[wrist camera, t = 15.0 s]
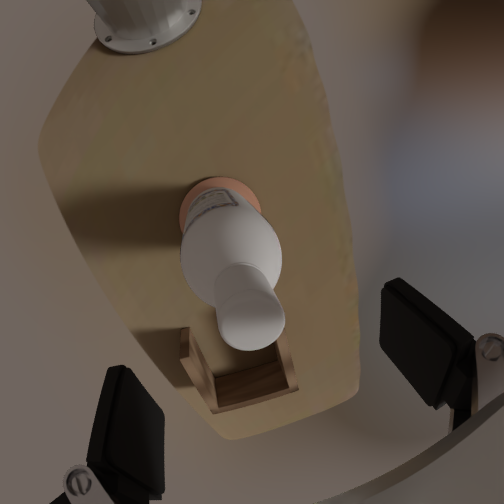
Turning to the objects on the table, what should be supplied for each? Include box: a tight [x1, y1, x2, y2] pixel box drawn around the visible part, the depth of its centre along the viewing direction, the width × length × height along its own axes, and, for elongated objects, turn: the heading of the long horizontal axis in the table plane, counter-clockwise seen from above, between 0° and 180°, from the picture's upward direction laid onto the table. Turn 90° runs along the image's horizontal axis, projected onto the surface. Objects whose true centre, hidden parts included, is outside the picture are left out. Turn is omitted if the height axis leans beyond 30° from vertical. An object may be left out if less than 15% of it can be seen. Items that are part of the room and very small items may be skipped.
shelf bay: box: [180, 327, 299, 414], centre depth 34 cm, size 12×12×6 cm
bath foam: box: [180, 187, 285, 351], centre depth 21 cm, size 7×7×20 cm
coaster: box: [179, 177, 261, 234], centre depth 30 cm, size 9×9×1 cm
